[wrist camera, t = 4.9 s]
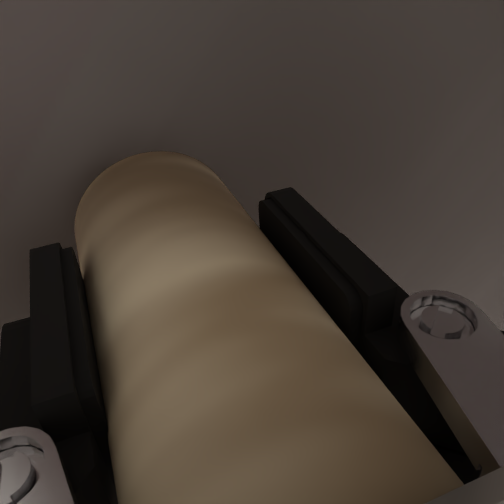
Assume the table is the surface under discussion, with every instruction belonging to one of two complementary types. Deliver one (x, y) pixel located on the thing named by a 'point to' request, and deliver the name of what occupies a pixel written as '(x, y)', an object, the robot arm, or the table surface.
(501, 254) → the table surface
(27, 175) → the table surface
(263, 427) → the dowel
